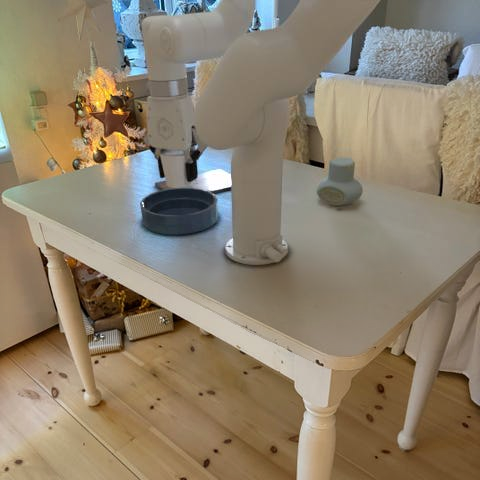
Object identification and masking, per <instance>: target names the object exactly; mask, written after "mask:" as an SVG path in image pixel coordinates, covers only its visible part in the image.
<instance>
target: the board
mask: <svg viewBox="0 0 480 480" xmlns="http://www.w3.org/2000/svg"><path fill="white" fill-rule="evenodd" d="M154 186H155V187H156V188H157V189H158V190H159V191H161V190H166V189H172V188H171V187H168V186H167V184H166V180H162V181H157V182H154ZM183 188H196V189H202V190H205V191H209V192H211V193H212V194H214V195H215V194H220V193H224V192H228V191H231V173H228V172H226V171H224V170H222V169H221V168H218V169H214V170H209V171H204V172H200V173H199V172H198V175H197V179H195V180H193V181H192V184H191V185H190V186H187V187H183Z"/></svg>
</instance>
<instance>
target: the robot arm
mask: <svg viewBox="0 0 480 480" xmlns="http://www.w3.org/2000/svg"><path fill="white" fill-rule="evenodd" d="M298 2H299V3H298V4H297V5H296V7H295V8H294V9H293V11H292V12H291V13H290V15H289V16H288V17H287V18H286V19H285V21H284V22H283V23H281V24H280V25H278V26H276V27H273V28H269V29H267V28H266V29H261V30H260V29H259V30H254V31H249V30H250V27H251V26H252V22H253V18H254V15H255V10H256V0H220V1H219V2H218V4H217V5H216V7H214V8H213V10H211V11H204V12H203V11H202V12H189V13H182V14H181V13H180V14H165V15H164V14H163V15H162V14H161V15H151V16H146V17H144V18H143V20H142V22H141V31H142V41H143V49H144V55H145V63H146V71H147V78H148V80H147V81H146V82H145V87H146V89H149V93H150V95H149V96H147V98H146V126H147V133H146V134H145V135H144V137H143V142H144V144H145V145H146V146H147V147H148V149H149V151H150V152H151V153H152V154H153V157H154V159H155V160H156V161H157V167H158V173H159V178H160V179H165V175H164V171H163V166H162V161H161V157H160V152H161V151H163V150H166V149H167V150H176V151H183V153H184V155H185V157H186V159H187V162H188V163H186V164H185V166H186V176H187V181H188V182H192V181H193V180H195V179H197V175H198V174H199V171H198V160H199V159H200V157H201V156H202V155H203V154H204V152H205V151H206V150H207V148H210V149H213V150H216V151H225V150H230V149H231V150H232V149H233V151H232V155H231V159H230V160H231V161H230V175H231V190H230V194H231V222H232V224H231V225H232V226H231V228H232V238H231V239H229V240H228V241H227V242H226V243H225V246H224V248H225V254H226V256H227V257H228V258H229V259H230V260H232V261H234V262H236V263H240V264H243V265H250V266H263V265H270V264H273V263H279V262H281V260H282V259H284V258H285V257H286V256H287V254H288V253H289V249H288V248H289V247H288V246H289V245H288V242H286V240H284V239H283V235H282V234H281V233H282V232H281V231H282V230H281V229H282V227H281V226H282V223H281V222H282V200H283V199H282V198H283V197H282V196H283V171H284V170H283V168H284V155H285V154H284V153H285V143H286V138H287V133H288V129H289V124H290V119H291V118H290V117H291V104H290V98H293V97H296V96H298V95H300V94H302V93H305V92H306V91H307V90H308V89H309V88H310V87H311V86H312V85H313V84H314V83H315V81H316V80H317V79H318V78H319V76H320V75H321V74H322V73H323V72H324V71H325V69H326V68H327V67H328V66H329V64H330V63H331V62H332V60H333V59H334V58H335V57H336V56H337V54H338V53H339V52H340V51H341V49H342V48H344V45H345V44H346V43H347V42H348V40H349V39H350V38H351V37H352V36H353V34H354V33H355V32H356V30H358V29H359V27H360V26H361V25H362V24H363V23H364V22H365V21H366V19H368V17H369V16H370V15H371V14H372V12H373V11H374V9H375V8H376V7H377V6H378V5H379V3H380V2H381V0H299V1H298ZM248 31H249V32H248ZM219 58H220V60H219V61H218V63H217V65H216V66H215V68H214V70H213V71H212V73H211V75H210V77H209V78H208V79H207V82H206V83H205V85H204V87H203V88H202V90H201V92H200V94H199V96H198V98H197V100H196V104H195V105H194V102H193V98H192V95H190V94H189V85H188V77H187V76H188V75H187V65H186V64H188V63H196V62H201V61H206V60H213V59H214V60H215V59H219ZM196 146H197V147H196ZM189 150H190V151H189ZM190 152H191V153H190Z"/></svg>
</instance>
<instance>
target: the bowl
mask: <svg viewBox="0 0 480 480" xmlns="http://www.w3.org/2000/svg"><path fill="white" fill-rule="evenodd" d="M139 203H140V205H139V206H140V212H141V221H142V224H143V226H144V227H145V228H146V229H147V230H149V231H152V232H155V233H157V234H164V235H187V234H195V233H198V232H202V231H204V230H206V229H208V228H211V227H212V226H214V225H215V223H217V222H218V218H219V206H218V198H217V196H216V195H215V194H212V193H211V192H209V191H205V190H202V189H196V188H172V189H166V190H158V191H155V192H152V193H150V194H147V195H146V196H145V197H143V198H142V199H141V200H140V202H139Z"/></svg>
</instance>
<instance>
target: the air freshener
mask: <svg viewBox="0 0 480 480" xmlns="http://www.w3.org/2000/svg"><path fill="white" fill-rule="evenodd" d="M355 166H356V162H355V161H354V159H352V158H349V157H335V158H332V159H331V160H329V162H328V172H327V173H328V175H327V176H326V177H324V178H323V179H321V180H320V181H319V182H318V184H317V186H316V195H317V196H318V198H319V199H320V200H321V201H322V202H324V203H325V204H328V205H329V206H331V207H337V208H338V207H345V206H350V205H352V204H354V203H356V202H358V200H359V199H360V198H361V197H362V195H363V190H364V189H363V186H362V184H361V183H360V181H359V180H358V179H357V178H355V177H354V175H355Z"/></svg>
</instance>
